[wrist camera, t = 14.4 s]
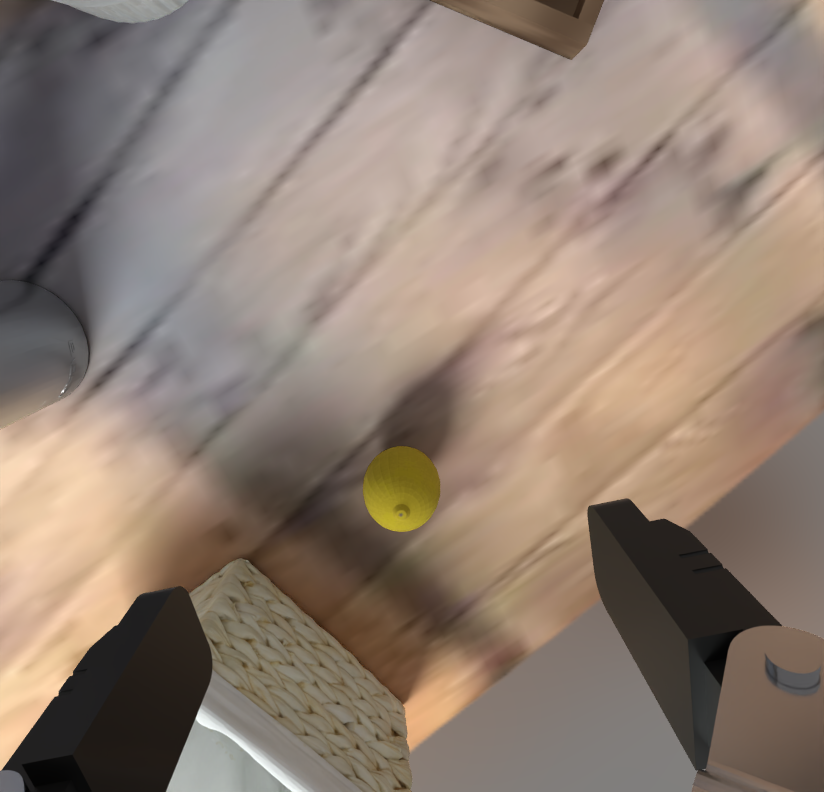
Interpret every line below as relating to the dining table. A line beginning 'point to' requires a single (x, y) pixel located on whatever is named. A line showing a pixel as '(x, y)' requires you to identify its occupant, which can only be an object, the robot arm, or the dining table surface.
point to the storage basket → (285, 701)
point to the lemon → (401, 488)
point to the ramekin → (126, 9)
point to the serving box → (536, 20)
